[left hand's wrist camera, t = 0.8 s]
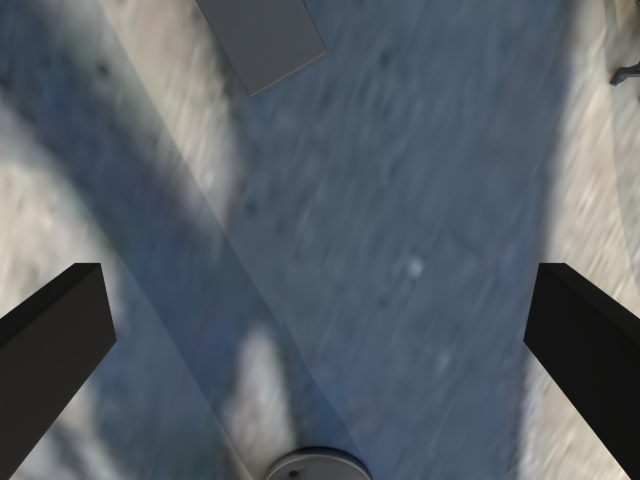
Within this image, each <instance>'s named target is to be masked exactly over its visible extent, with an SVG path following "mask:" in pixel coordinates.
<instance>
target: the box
mask: <svg viewBox="0 0 640 480" xmlns="http://www.w3.org/2000/svg"><path fill="white" fill-rule="evenodd" d="M196 2H197V4H198V5H199V7H200V9H201V11H202V12H203V14H204V16H205V18H206V20H207V21H208V23H209V25H210V27H211V28H212V30H213V32H214V34H215V36H216V37H217V39H218V41H219V43H220V45H221V46H222V48H223V50H224V52H225V53H226V55H227V57H228V59H229V61H230V62H231V64H232V66H233V68H234V69H235V71H236V73H237V75H238V77H239V78H240V80H241V82H242V84H243V86H244V87H245V89H246V91H247V93H248V94H249V96H253V95H256V94H259V93H262V92H265V91H268V90H270V89H271V88H273V87H275V86H277V85H278V84H280V83H282V82H284V81H285V80H287V79H289V78H290V77H292V76H294V75H296V74H297V73H299V72H301V71H303V70H304V69H306V68H308V67H310V66H311V65H313V64H315V63H316V62H318V61H320V60H322V59H323V58H325V57H326V55H327V50H326V47H325V45H324V43H323V41H322V39H321V37H320V35H319V33H318V31H317V29H316V27H315V24H314V22H313V20H312V18H311V16H310V14H309V12H308V10H307V8H306V6H305V3H304V1H303V0H196Z"/></svg>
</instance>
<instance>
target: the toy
mask: <svg viewBox="0 0 640 480" xmlns="http://www.w3.org/2000/svg"><path fill="white" fill-rule="evenodd" d="M637 4H638V5H639V7H640V0H638V1H637ZM627 77H640V62H639V63H638V64H637V65H634V66H632V67H623V68H620V69H619V71H618V72H617V74H616V75H615V76H614V78H613V79H612V81H611V82H610V84H612V85H613V86H616V85H618V84H619V83H621V82H622V81H624V80H625V79H626V78H627Z"/></svg>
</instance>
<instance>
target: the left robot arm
mask: <svg viewBox="0 0 640 480" xmlns="http://www.w3.org/2000/svg"><path fill="white" fill-rule="evenodd" d="M116 341H117V340H116V335H115V330H114V326H113V321H112V316H111V311H110V306H109V301H108V297H107V292H106V287H105V282H104V277H103V273H102V268H101V263H74V264H73V265H71V266H70V267H69V268H67V269H66V270H65V271H63V272H62V273H61V274H59V275H58V276H57V277H55V278H54V279H53V280H51V281H50V282H49V283H47V284H46V285H45V286H43V287H42V288H41V289H39V290H38V291H37V292H35V293H34V294H33V295H31V296H30V297H29V298H27V299H26V300H25V301H23V302H22V303H21V304H19V305H18V306H17V307H15V308H14V309H13V310H11V311H10V312H9V313H7V314H6V315H5V316H3V317H2V318H1V319H0V480H9V479H10V477H11V476H12V475H13V474H14V472H15V471H16V470H17V468H18V467H19V466H20V465H21V463H22V462H23V461H24V459H25V458H26V457H27V456H28V454H29V453H30V452H31V450H32V449H33V448H34V447H35V445H36V444H37V443H38V441H39V440H40V439H41V438H42V436H43V435H44V434H45V432H46V431H47V430H48V429H49V427H50V426H51V425H52V423H53V422H54V421H55V420H56V418H57V417H58V416H59V414H60V413H61V412H62V411H63V409H64V408H65V407H66V405H67V404H68V403H69V402H70V400H71V399H72V398H73V396H74V395H75V394H76V393H77V391H78V390H79V389H80V387H81V386H82V385H83V384H84V382H85V381H86V380H87V378H88V377H89V376H90V375H91V373H92V372H93V371H94V369H95V368H96V367H97V366H98V364H99V363H100V362H101V360H102V359H103V358H104V357H105V355H106V354H107V353H108V351H109V350H110V349H111V348H112V346H113V345H114V344H115V342H116ZM523 341H524V342H525V344H526V345H527V346H528V348H529V349H530V350H531V351H532V353H533V354H534V355H535V357H536V358H537V359H538V360H539V362H540V363H541V364H542V366H543V367H544V368H545V369H546V371H547V372H548V373H549V375H550V376H551V377H552V378H553V380H554V381H555V382H556V384H557V385H558V386H559V387H560V389H561V390H562V391H563V393H564V394H565V395H566V396H567V398H568V399H569V400H570V402H571V403H572V404H573V405H574V407H575V408H576V409H577V411H578V412H579V413H580V414H581V416H582V417H583V418H584V420H585V421H586V422H587V423H588V425H589V426H590V427H591V429H592V430H593V431H594V432H595V434H596V435H597V436H598V438H599V439H600V440H601V441H602V443H603V444H604V445H605V447H606V448H607V449H608V450H609V452H610V453H611V454H612V456H613V457H614V458H615V459H616V461H617V462H618V463H619V465H620V466H621V467H622V468H623V470H624V471H625V472H626V474H627V475H628V476H629V477H630V479H631V480H640V319H639V318H638V317H637V316H635V315H634V314H633V313H631V312H630V311H629V310H627V309H626V308H625V307H623V306H622V305H621V304H619V303H618V302H617V301H615V300H614V299H613V298H611V297H610V296H609V295H607V294H606V293H605V292H603V291H602V290H601V289H599V288H598V287H597V286H595V285H594V284H593V283H591V282H590V281H589V280H587V279H586V278H585V277H583V276H582V275H581V274H579V273H578V272H577V271H575V270H574V269H573V268H571V267H570V266H569V265H567V264H566V263H539V268H538V273H537V277H536V282H535V287H534V292H533V297H532V301H531V306H530V311H529V316H528V321H527V326H526V330H525V335H524V340H523ZM264 480H373V479H372V476H371V474H370V472H369V471H368V469H367V468H366V467H365V466H364V465H363V464H362V463H361V462H360V461H359V460H357V459H356V458H354V457H352V456H351V455H349V454H346V453H344V452H341V451H337V450H333V449H326V448H310V449H303V450H299V451H295V452H292V453H290V454H288V455H285V456H284V457H282V458H280V459H279V460H277V461H276V462H275V463H274V464H273V465H272V466H271V467H270V468H269V470H268V471H267V473H266V475H265V478H264Z"/></svg>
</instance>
